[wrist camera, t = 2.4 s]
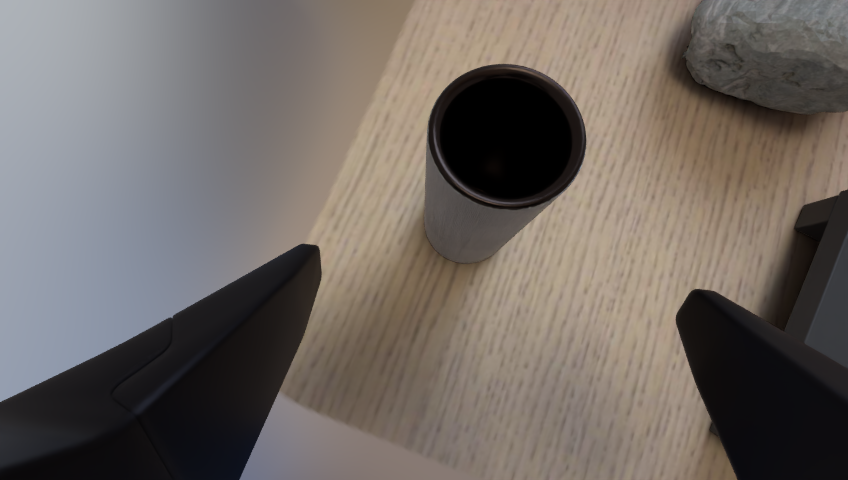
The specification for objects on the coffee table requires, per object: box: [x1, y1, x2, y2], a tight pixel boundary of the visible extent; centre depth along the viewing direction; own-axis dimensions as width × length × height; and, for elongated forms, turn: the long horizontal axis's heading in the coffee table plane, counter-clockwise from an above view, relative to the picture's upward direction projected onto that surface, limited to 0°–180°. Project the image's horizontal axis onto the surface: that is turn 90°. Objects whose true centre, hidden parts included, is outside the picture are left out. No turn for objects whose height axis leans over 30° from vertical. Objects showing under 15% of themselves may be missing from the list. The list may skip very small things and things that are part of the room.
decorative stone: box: [681, 0, 848, 115], centre depth 20 cm, size 13×10×6 cm
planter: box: [424, 64, 586, 263], centre depth 16 cm, size 4×4×10 cm
